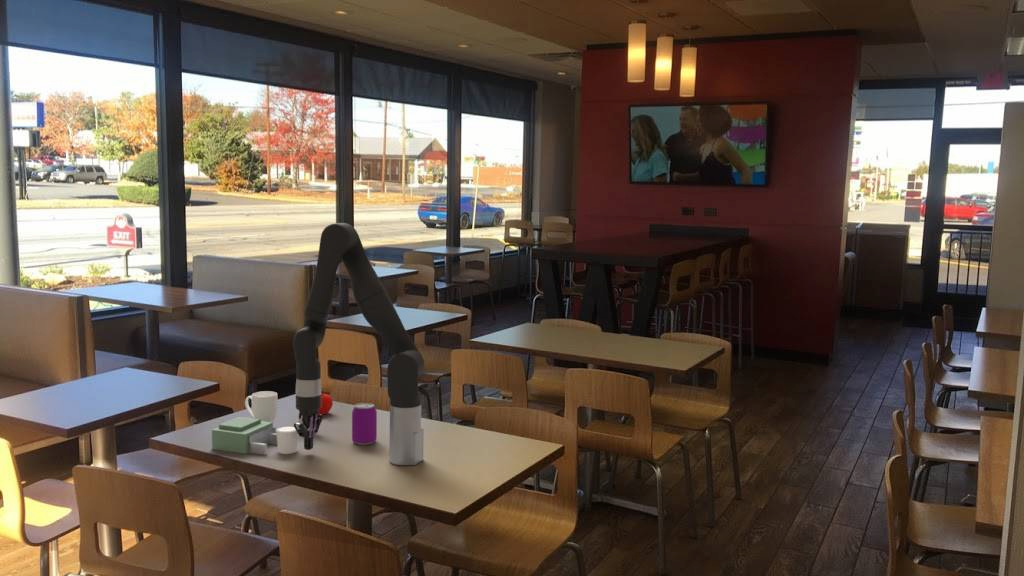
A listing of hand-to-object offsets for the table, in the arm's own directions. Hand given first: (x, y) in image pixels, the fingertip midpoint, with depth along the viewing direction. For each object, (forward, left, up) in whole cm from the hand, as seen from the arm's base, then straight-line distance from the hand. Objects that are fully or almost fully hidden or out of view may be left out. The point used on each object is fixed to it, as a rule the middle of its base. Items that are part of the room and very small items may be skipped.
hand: (308, 448), depth 251 cm
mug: (+30, -19, -2) cm, 36 cm away
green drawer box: (+23, 0, -2) cm, 23 cm away
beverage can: (-10, -17, -2) cm, 20 cm away
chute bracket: (+15, 0, -2) cm, 15 cm away
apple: (+20, -41, -2) cm, 46 cm away
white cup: (+7, 0, -2) cm, 8 cm away
